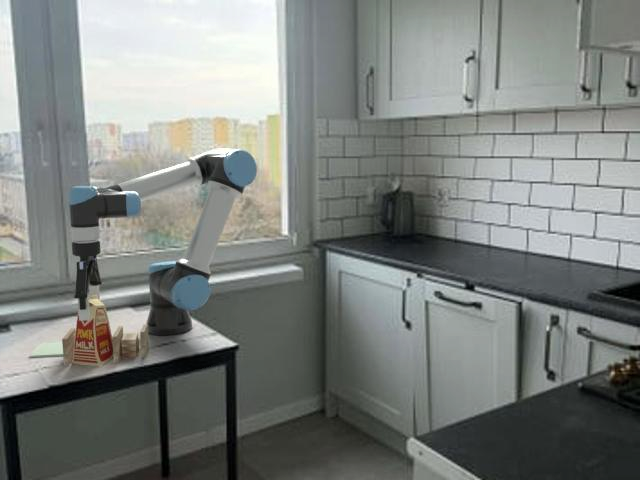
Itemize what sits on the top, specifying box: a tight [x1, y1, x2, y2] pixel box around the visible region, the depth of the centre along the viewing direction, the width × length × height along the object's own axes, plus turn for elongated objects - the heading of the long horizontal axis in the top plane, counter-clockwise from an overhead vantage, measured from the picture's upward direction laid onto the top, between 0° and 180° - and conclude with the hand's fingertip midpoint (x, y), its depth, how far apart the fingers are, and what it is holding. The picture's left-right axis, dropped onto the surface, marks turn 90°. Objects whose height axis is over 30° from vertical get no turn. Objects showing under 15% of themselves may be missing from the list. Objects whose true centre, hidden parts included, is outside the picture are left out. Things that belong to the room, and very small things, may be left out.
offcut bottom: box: [121, 346, 141, 359], centre depth 179 cm, size 4×6×2 cm, turn 7°
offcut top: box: [121, 332, 139, 347], centre depth 179 cm, size 4×6×2 cm, turn 10°
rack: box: [61, 324, 150, 367], centre depth 176 cm, size 22×10×8 cm, turn 99°
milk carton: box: [71, 295, 114, 367], centre depth 174 cm, size 9×9×20 cm
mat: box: [28, 341, 63, 359], centre depth 183 cm, size 11×11×1 cm
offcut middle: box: [122, 338, 140, 353], centre depth 179 cm, size 4×6×2 cm, turn 7°
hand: (90, 313), depth 173 cm, fingers open, 13 cm apart
